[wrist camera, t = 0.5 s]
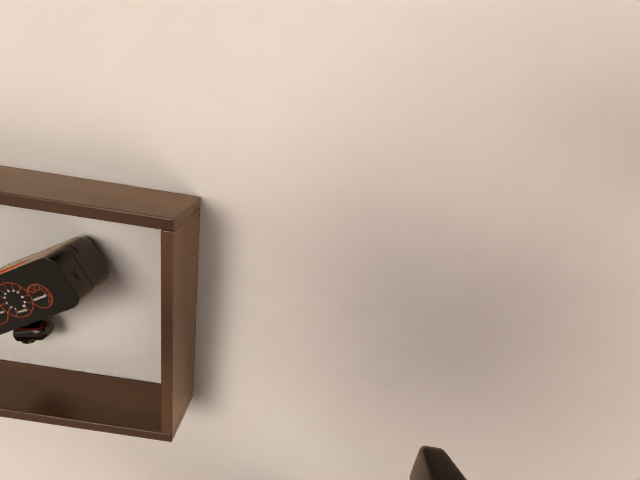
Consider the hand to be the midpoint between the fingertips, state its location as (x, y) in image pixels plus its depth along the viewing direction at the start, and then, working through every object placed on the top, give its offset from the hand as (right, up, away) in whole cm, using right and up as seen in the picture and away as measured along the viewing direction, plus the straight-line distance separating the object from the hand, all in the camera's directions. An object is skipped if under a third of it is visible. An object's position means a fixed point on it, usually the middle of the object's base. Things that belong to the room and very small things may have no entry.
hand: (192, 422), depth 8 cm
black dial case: (-12, +1, +15) cm, 20 cm away
